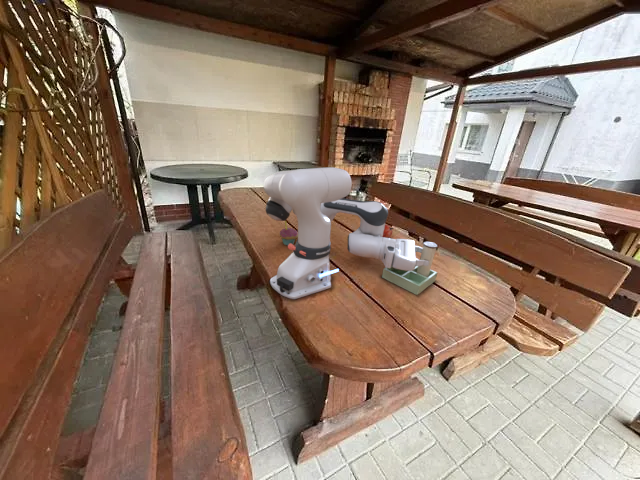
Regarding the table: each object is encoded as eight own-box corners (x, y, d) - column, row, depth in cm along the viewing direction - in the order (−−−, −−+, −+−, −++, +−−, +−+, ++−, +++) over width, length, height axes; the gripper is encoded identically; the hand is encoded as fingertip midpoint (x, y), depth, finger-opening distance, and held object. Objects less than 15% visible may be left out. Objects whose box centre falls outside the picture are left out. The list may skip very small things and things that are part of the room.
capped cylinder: (424, 282, 96) (433, 248, 90) (413, 277, 99) (421, 243, 93) (430, 278, 99) (439, 244, 93) (418, 273, 102) (427, 240, 96)
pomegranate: (374, 242, 135) (390, 236, 127) (370, 228, 136) (385, 222, 128) (383, 240, 140) (398, 234, 132) (378, 227, 141) (394, 220, 133)
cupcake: (285, 248, 116) (285, 223, 111) (275, 241, 122) (275, 217, 117) (301, 244, 121) (302, 219, 116) (291, 237, 127) (291, 214, 122)
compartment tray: (417, 295, 90) (419, 286, 88) (381, 277, 99) (383, 268, 98) (435, 281, 99) (437, 272, 98) (401, 265, 108) (403, 257, 107)
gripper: (389, 246, 109) (424, 253, 105) (385, 269, 91) (427, 278, 87) (392, 232, 106) (427, 238, 103) (388, 253, 88) (432, 261, 85)
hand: (427, 257), depth 95 cm, fingers open, 8 cm apart
